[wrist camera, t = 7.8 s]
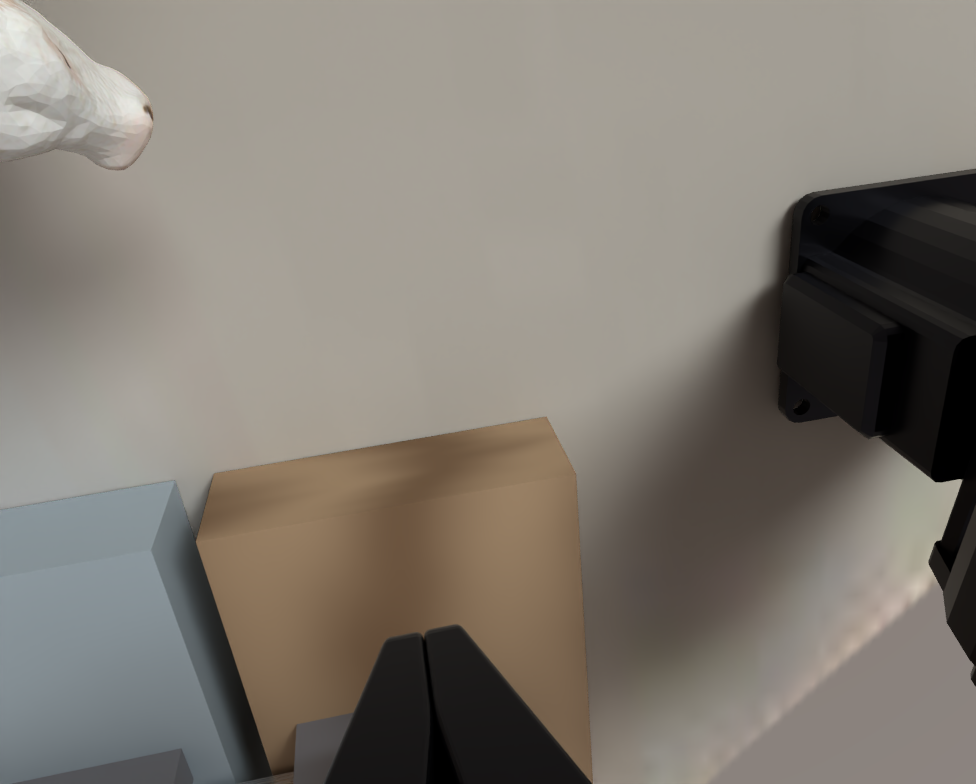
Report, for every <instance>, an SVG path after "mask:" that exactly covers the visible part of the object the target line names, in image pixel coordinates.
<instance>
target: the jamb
mask: <svg viewBox="0 0 976 784" xmlns="http://www.w3.org/2000/svg"><path fill="white" fill-rule="evenodd" d="M196 544H197V547H198V550H199V553H200V556H201V559H202V562H203V565H204V568H205V571H206V574H207V577H208V581H209V584H210V587H211V590H212V593H213V596H214V599H215V602H216V605H217V608H218V611H219V614H220V617H221V620H222V623H223V626H224V629H225V632H226V635H227V638H228V641H229V644H230V647H231V650H232V653H233V656H234V659H235V662H236V665H237V668H238V671H239V674H240V677H241V680H242V683H243V686H244V689H245V692H246V695H247V699H248V702H249V705H250V708H251V711H252V714H253V717H254V720H255V723H256V726H257V729H258V732H259V735H260V738H261V741H262V744H263V747H264V750H265V753H266V756H267V759H268V762H269V765H270V768H271V771H272V774H273V776H275V775H280V774H284V773H289V772H294V779H293V784H323V783H324V781H325V778H326V776H327V774H328V771H329V769H330V767H331V764H332V762H333V760H334V757H335V755H336V752H337V750H338V748H339V745H340V743H341V741H342V738H343V736H344V734H345V731H346V729H347V727H348V724H349V722H350V720H351V717H352V715H353V713H354V710H355V708H356V706H357V703H358V701H359V699H360V696H361V694H362V691H363V689H364V687H365V684H366V682H367V680H368V677H369V675H370V673H371V670H372V668H373V666H374V663H375V661H376V659H377V656H378V654H379V652H380V649H381V647H382V645H383V643H384V641H385V640H386V639H387V638H389V637H393V636H398V635H403V634H408V633H413V632H419V633H421V634H422V635H423V638H424V634H425V632H426V631H427V630H429V629H433V628H438V627H443V626H448V625H453V624H458V625H460V626H462V627H463V628H464V629H465V630H466V632H467V633H468V634H469V635H470V637H471V638H472V639H473V640H474V641H475V643H476V644H477V645H478V646H479V647H480V649H481V650H482V651H483V652H484V653H485V655H486V656H487V657H488V658H489V659H490V661H491V662H492V663H493V664H494V665H495V667H496V668H497V669H498V670H499V671H500V673H501V674H502V675H503V676H504V678H505V679H506V680H507V681H508V682H509V684H510V685H511V686H512V687H513V688H514V690H515V691H516V692H517V693H518V694H519V696H520V697H521V698H522V699H523V700H524V702H525V703H526V704H527V705H528V706H529V708H530V709H531V710H532V711H533V713H534V714H535V715H536V716H537V717H538V719H539V720H540V721H541V722H542V723H543V725H544V726H545V727H546V728H547V729H548V731H549V732H550V733H551V734H552V735H553V737H554V738H555V739H556V740H557V741H558V743H559V744H560V745H561V746H562V748H563V749H564V750H565V751H566V752H567V754H568V755H569V756H570V757H571V758H572V760H573V761H574V762H575V763H576V764H577V766H578V767H579V768H580V769H581V770H582V772H583V773H584V774H585V775H586V776H587V778H588V779H589V780H590V781H591V782H592V784H593V776H592V757H591V739H590V721H589V703H588V684H587V666H586V648H585V629H584V611H583V593H582V574H581V556H580V538H579V519H578V501H577V483H576V473H575V471H574V469H573V467H572V465H571V463H570V461H569V459H568V457H567V455H566V453H565V451H564V450H563V448H562V446H561V444H560V442H559V440H558V438H557V436H556V434H555V432H554V430H553V428H552V426H551V424H550V422H549V421H548V419H547V417H543V418H537V419H531V420H525V421H519V422H513V423H507V424H502V425H496V426H490V427H484V428H478V429H472V430H466V431H461V432H455V433H449V434H443V435H437V436H431V437H425V438H420V439H414V440H408V441H402V442H396V443H390V444H384V445H379V446H373V447H367V448H361V449H355V450H349V451H343V452H338V453H332V454H326V455H320V456H314V457H308V458H302V459H297V460H291V461H285V462H279V463H273V464H267V465H261V466H256V467H250V468H244V469H238V470H232V471H226V472H220V473H215V474H214V476H213V480H212V483H211V487H210V491H209V494H208V498H207V502H206V506H205V509H204V513H203V517H202V521H201V524H200V528H199V532H198V536H197V539H196Z"/></svg>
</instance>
